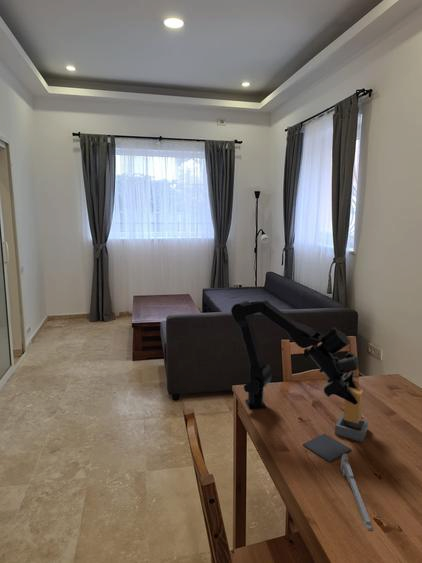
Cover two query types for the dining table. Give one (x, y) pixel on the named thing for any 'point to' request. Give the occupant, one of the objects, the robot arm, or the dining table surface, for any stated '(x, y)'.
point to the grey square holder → (351, 432)
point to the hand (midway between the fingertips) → (358, 400)
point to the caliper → (355, 489)
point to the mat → (327, 447)
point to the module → (354, 406)
